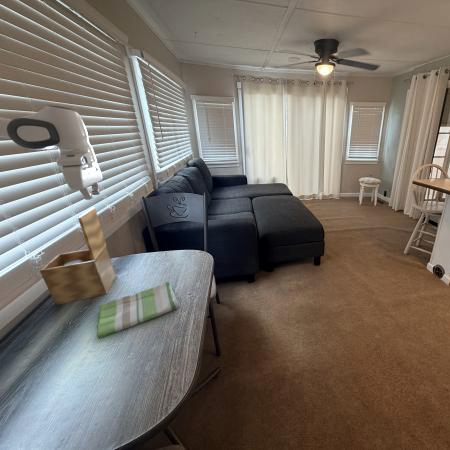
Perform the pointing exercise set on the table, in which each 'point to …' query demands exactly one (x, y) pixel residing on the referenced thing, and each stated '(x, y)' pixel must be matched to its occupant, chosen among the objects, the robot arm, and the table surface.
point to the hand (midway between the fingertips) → (93, 196)
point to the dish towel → (135, 309)
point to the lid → (92, 232)
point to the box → (78, 276)
